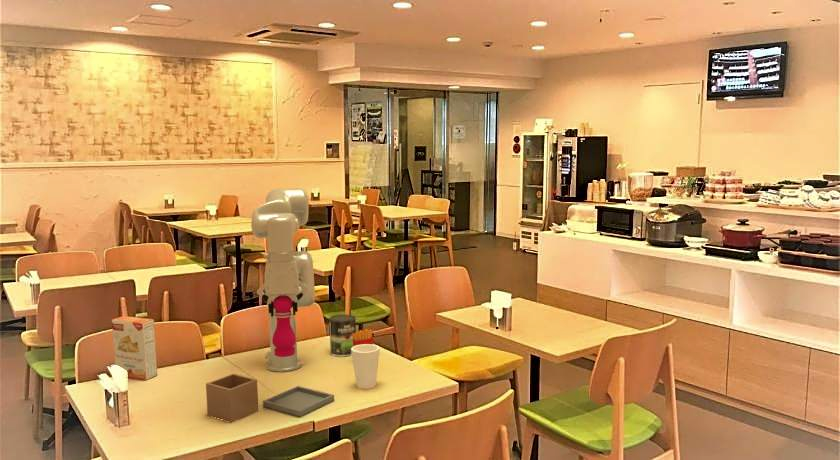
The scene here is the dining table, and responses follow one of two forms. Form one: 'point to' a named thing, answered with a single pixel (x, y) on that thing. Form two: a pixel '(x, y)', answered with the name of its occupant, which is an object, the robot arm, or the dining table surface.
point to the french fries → (362, 337)
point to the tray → (298, 401)
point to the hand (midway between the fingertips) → (283, 314)
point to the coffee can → (342, 334)
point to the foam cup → (365, 364)
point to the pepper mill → (283, 327)
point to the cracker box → (135, 346)
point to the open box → (232, 397)
